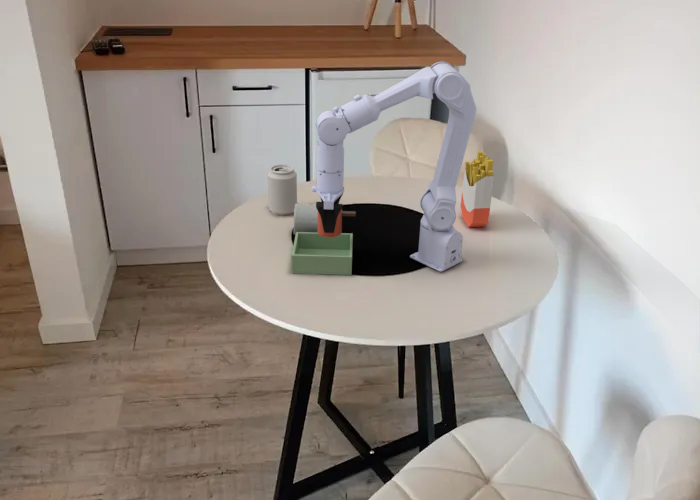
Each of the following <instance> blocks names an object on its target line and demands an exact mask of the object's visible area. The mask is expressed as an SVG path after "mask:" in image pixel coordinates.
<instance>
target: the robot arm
mask: <svg viewBox="0 0 700 500" xmlns="http://www.w3.org/2000/svg"><path fill="white" fill-rule="evenodd" d="M434 94H435V96H436V97H437V99H438V100H440V101H441V102H442V103H444V104H445V105H446V107H447V109H448V110H449V116H448V119H447V124H446V127H445V131H444V135H443V139H442V143H441V147H440V151H439V154H438V158H437V162H436V167H435V170H434V175H433V178H432V180H431V181H430V182H429V183H428V186H427V189H426V190H425V192H424V193H423V194H422V195H421V196H420V197H421V198H420V201H419V206H420V208H421V210H422V211H423V215H422V217H421V219H420V225H419V239H418V250H417V252H414V253H412V254H410V255H409V258H410V259H412V260H414V261H416V262H418V263H421V264H422V265H424V266H426V267H429V268H432V269H433V270H435V271H438V272H439V273H440V272H444V271H446V270H449V269H450V268H452V267H454V266H456V265H458V264H460V263H462V262H463V258H462V257H461V256H462V248H463V234H462V233H461V232H460V231H459V230H457V229H456V228H455V226H454V224H455V222H456V220H457V219H456V218H457V212H456V204H457V193H456V187H457V183H458V179H459V175H460V172H461V169H462V166H463V165H462V164H463V161H464V158H465V155H466V150H467V147H468V143H469V140H470V135H471V132H472V129H473V124H474V121H475V117H476V114H477V107H476V103H475V100H474V96H473V93H472V90H471V84H470V83H469V82H468V80H467V79H466V78H465V76H463V74H461V73H460V72H459V71H457V70H456V69H455V67H454V66H453V65H452V64H451V63H449V62H447V61H438V62H435V63H433V64H432V65H431V66H426V67H423V68H421V69H420V70H418V71H417V72H415V73H414V74H412V75H410V76H408V77H406V78H405V79H403V80H401V81H399V82H398V83H396V84H393V86H390V87H389V88H387V89H385V90H383V91H382V92H380V93H377V94H376V95H374V96H372V95H369V94H366V93H365V94H362V95H361V94H356V95H354V96H353V98H354V99H353V100H351V101H349V102H347V103H345V104H343V105H341V106H337V105H336V106H334V107H333V108H332V110H326V111H325V110H324V111H323V112H321V113H320V114H319V116H318V117H317V119H316V122H315V129H316V131H317V134H318V135H317V141H316V142H317V147H316V185H312V186H311V192H312V193H316V194H317V195H318V196H319V198H320V200H321V201H316V202H315V205H316V208H317V210H318V212H319V214H320V216H321V220H322V225H323V230H324V233H334V230H335V226H336V221H337V217H338V215H339V213H340V211H341V209H342V210H343V203H340V200H341V198H342V197H343V195H344V193H345V187H344V177H345V175H344V174H345V173H344V172H345V147H344V140H345V139H346V137H347V135H348V134H352V133H354V132H357V131H358V130H360V129H362V128H364V127H366V126H368V125H370V124H372V123H374V122H376V121H378V119H379V117H380V114H381V113H382V112H383V111H385V110H387V109H390V108H392V107H394V106H397V105H399V104H401V103H404V102H406V101H408V100H411V99H413V98H415V97H419V98H425V99H429V100H434Z"/></svg>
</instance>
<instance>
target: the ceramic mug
mask: <svg viewBox="0 0 700 500" xmlns="http://www.w3.org/2000/svg"><path fill="white" fill-rule="evenodd" d="M317 225H318V210H317V208H316V204H306V203H297V204H295V209H294V212H293V235H294V236H295V235H296V232H315V233H318V232H317Z"/></svg>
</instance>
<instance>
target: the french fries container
mask: <svg viewBox="0 0 700 500" xmlns="http://www.w3.org/2000/svg"><path fill="white" fill-rule="evenodd" d="M494 162H495V161H494V160H493V159H490V158H489V157H487V153H484V152H483V151H480V150H478V151H477V153H476V158H472V161H471V162H470V161H469V160H465V162H464V165H465V166H464V174H463V182H462V190H461V199H460V210H461V211H460V212H461V219H462V220H463V221H464V223H465V225H466V226H467V227H468V228H483V227H486V225H487V224H489V220H490V211H491V204H492V196H493V189H494V182H495V176H494V171H493V168H494Z"/></svg>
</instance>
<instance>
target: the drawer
mask: <svg viewBox="0 0 700 500" xmlns="http://www.w3.org/2000/svg"><path fill="white" fill-rule="evenodd" d="M353 237H354V234H353V232H351V233H350V232H349V233H348V232H347V233H346V232H342V233H341V234H340V235H339V236H336V237H324V236H321V235H319V234H318V233H315V232H296V235H294V241H293V247H292V252H291V274H300V275H304V274H306V275H341V276H342V275H343V276H352V273H353V272H352V271H353V239H354V238H353Z"/></svg>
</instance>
